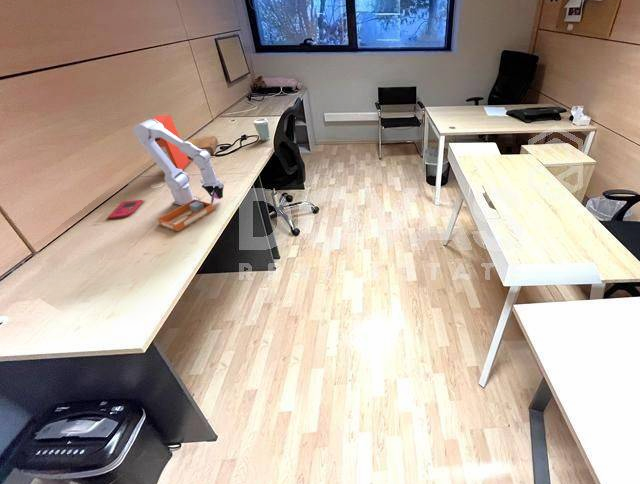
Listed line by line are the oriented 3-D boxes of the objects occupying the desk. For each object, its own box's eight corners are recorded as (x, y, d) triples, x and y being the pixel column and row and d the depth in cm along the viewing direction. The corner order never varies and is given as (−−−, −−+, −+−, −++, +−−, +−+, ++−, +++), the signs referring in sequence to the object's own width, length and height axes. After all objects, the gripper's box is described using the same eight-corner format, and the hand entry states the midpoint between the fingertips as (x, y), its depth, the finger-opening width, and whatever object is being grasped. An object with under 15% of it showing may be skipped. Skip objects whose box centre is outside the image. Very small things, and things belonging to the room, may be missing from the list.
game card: (213, 184, 169) (210, 192, 162) (224, 185, 171) (222, 194, 164) (212, 194, 172) (209, 203, 165) (223, 196, 174) (221, 205, 167)
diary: (214, 154, 224) (211, 146, 221) (184, 158, 219) (181, 150, 215) (218, 143, 242) (215, 135, 239) (190, 146, 237) (188, 139, 234)
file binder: (166, 174, 198) (143, 124, 180) (176, 163, 212) (156, 115, 195) (180, 173, 199) (159, 123, 182) (189, 162, 213) (170, 114, 196)
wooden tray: (159, 225, 152) (156, 219, 150) (197, 204, 167) (194, 199, 166) (177, 231, 148) (174, 225, 146) (214, 210, 163) (212, 204, 161)
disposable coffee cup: (269, 141, 244) (264, 122, 236) (255, 141, 244) (250, 122, 236) (274, 136, 253) (269, 118, 245) (260, 136, 253) (255, 118, 245)
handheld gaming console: (106, 216, 156) (122, 201, 169) (108, 219, 157) (123, 203, 169) (128, 214, 158) (142, 199, 170) (129, 216, 159) (143, 201, 171)
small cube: (191, 211, 161) (188, 205, 159) (198, 207, 165) (196, 201, 162) (198, 213, 160) (195, 207, 158) (205, 209, 163) (202, 203, 161)
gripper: (191, 174, 161) (200, 197, 168) (211, 180, 156) (220, 203, 163) (203, 169, 166) (212, 191, 174) (223, 174, 161) (231, 196, 169)
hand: (216, 196), depth 169 cm, fingers closed on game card, 5 cm apart
